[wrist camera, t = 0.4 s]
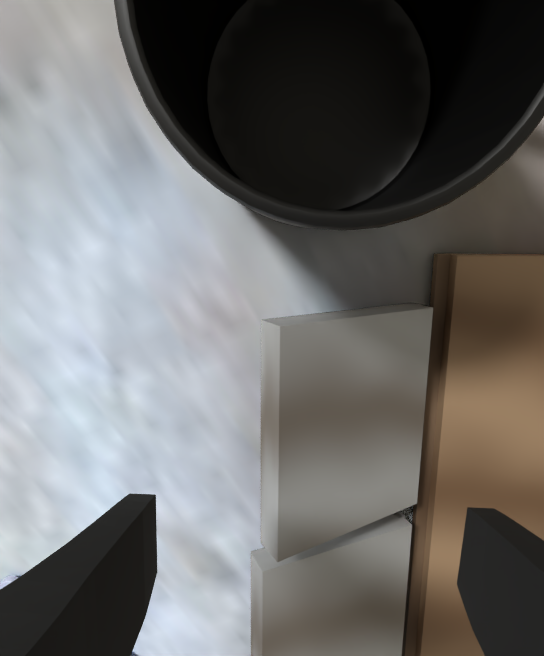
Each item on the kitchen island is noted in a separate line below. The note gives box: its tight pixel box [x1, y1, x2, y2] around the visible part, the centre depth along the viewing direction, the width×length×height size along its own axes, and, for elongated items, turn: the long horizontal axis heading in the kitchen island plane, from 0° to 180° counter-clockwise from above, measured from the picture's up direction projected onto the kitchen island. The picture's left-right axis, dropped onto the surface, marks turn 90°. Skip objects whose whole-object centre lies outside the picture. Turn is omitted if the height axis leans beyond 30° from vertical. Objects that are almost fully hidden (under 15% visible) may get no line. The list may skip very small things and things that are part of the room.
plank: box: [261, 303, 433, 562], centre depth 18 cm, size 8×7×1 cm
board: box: [402, 254, 544, 656], centre depth 21 cm, size 22×6×1 cm, turn 0°
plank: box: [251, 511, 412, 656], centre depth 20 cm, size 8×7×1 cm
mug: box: [114, 0, 544, 230], centre depth 13 cm, size 9×12×9 cm
